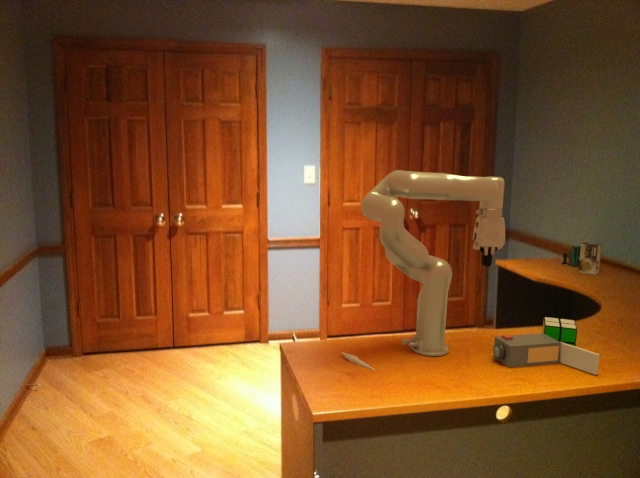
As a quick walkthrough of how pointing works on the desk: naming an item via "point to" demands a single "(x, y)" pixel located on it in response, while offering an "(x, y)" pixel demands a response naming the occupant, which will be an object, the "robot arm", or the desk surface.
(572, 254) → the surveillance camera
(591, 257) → the coffee box
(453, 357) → the desk surface
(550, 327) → the puzzle cube
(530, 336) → the camera box
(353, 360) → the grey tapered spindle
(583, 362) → the side door
